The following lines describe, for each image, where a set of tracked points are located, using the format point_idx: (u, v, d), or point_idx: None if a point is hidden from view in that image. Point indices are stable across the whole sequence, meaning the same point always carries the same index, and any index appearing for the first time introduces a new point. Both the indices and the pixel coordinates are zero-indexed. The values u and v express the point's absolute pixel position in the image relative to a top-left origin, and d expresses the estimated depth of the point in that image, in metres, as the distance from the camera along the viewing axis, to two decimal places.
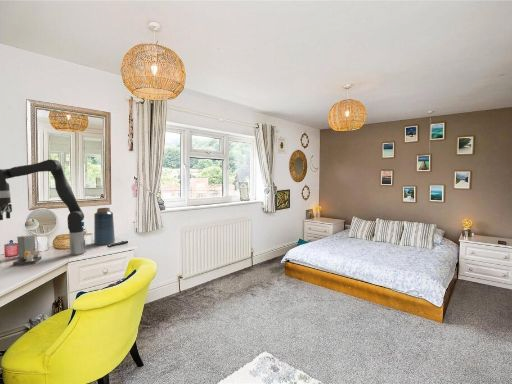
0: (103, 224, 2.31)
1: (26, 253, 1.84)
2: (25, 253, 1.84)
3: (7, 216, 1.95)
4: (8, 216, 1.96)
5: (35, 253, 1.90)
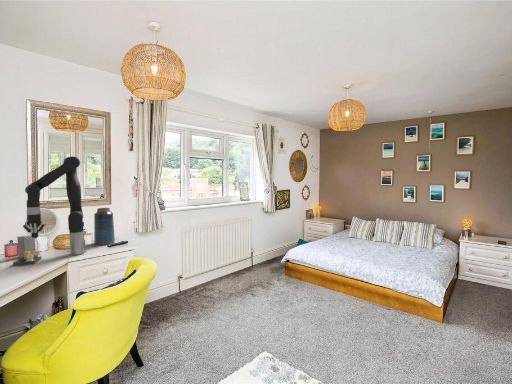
0: (103, 224, 2.31)
1: (26, 253, 1.84)
2: (25, 253, 1.84)
3: (34, 235, 1.86)
4: None
5: (35, 253, 1.90)
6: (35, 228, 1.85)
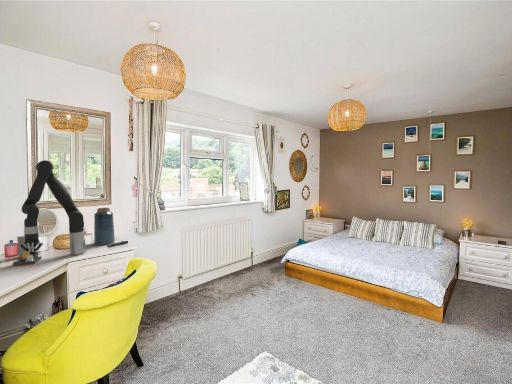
0: (103, 224, 2.31)
1: (25, 253, 1.84)
2: (24, 253, 1.84)
3: None
4: None
5: (35, 253, 1.90)
6: (32, 247, 1.85)
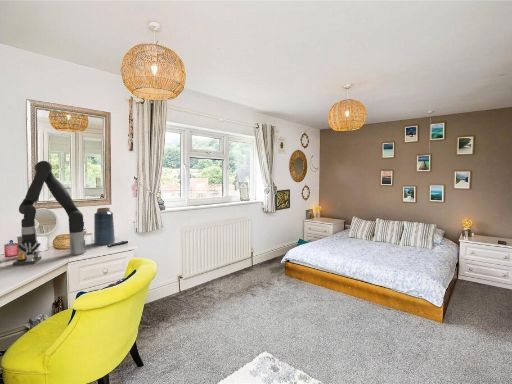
0: (103, 224, 2.31)
1: (20, 253, 1.83)
2: (19, 253, 1.83)
3: None
4: None
5: (35, 253, 1.90)
6: (30, 247, 1.85)
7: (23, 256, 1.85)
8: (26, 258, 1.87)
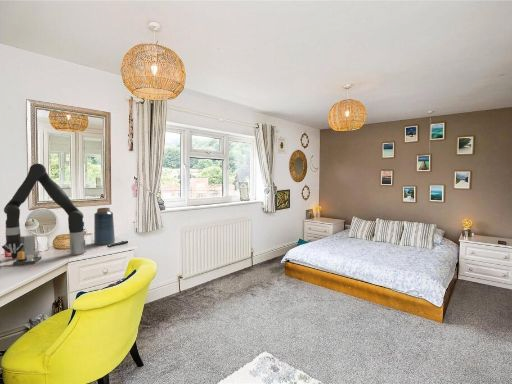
0: (103, 224, 2.31)
1: (20, 253, 1.83)
2: (19, 253, 1.83)
3: None
4: None
5: (35, 253, 1.90)
6: (14, 248, 1.82)
7: (23, 256, 1.85)
8: (26, 258, 1.87)
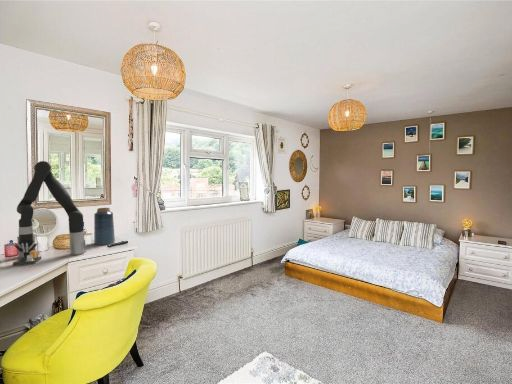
0: (103, 224, 2.31)
1: (32, 253, 1.85)
2: (31, 253, 1.85)
3: (26, 255, 1.85)
4: None
5: None
6: (27, 248, 1.84)
7: (35, 255, 1.87)
8: (38, 257, 1.89)
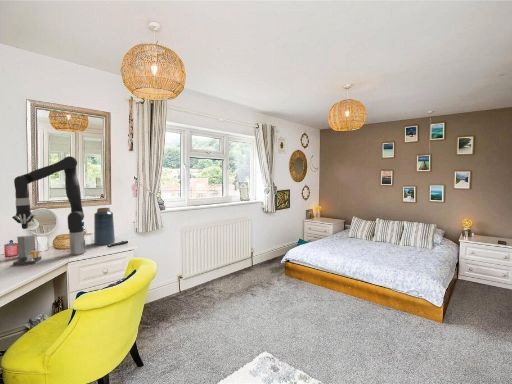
0: (103, 224, 2.31)
1: (32, 253, 1.85)
2: (31, 253, 1.85)
3: None
4: None
5: None
6: (24, 219, 1.85)
7: (35, 255, 1.87)
8: (38, 257, 1.89)
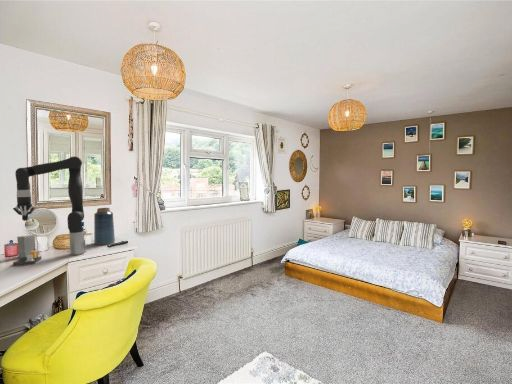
0: (103, 224, 2.31)
1: (32, 253, 1.85)
2: (31, 253, 1.85)
3: None
4: None
5: None
6: (25, 211, 1.86)
7: (35, 255, 1.87)
8: (38, 257, 1.89)
